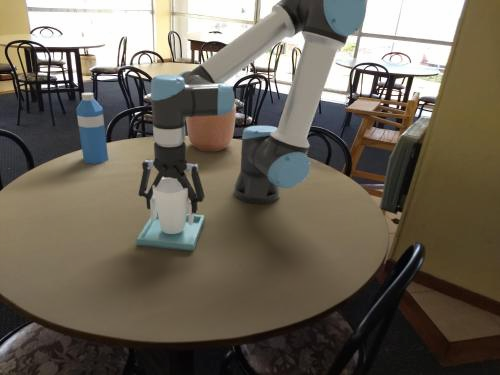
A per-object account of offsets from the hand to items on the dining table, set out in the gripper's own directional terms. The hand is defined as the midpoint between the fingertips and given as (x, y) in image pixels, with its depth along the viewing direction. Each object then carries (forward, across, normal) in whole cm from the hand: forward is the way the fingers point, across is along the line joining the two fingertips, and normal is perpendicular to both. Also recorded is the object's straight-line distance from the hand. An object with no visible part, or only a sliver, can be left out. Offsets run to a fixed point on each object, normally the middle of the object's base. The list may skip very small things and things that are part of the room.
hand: (172, 220), depth 100 cm
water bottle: (+4, +42, -44) cm, 61 cm away
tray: (+4, 0, 0) cm, 4 cm away
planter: (+4, +2, -68) cm, 68 cm away
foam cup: (+2, 0, 0) cm, 2 cm away
